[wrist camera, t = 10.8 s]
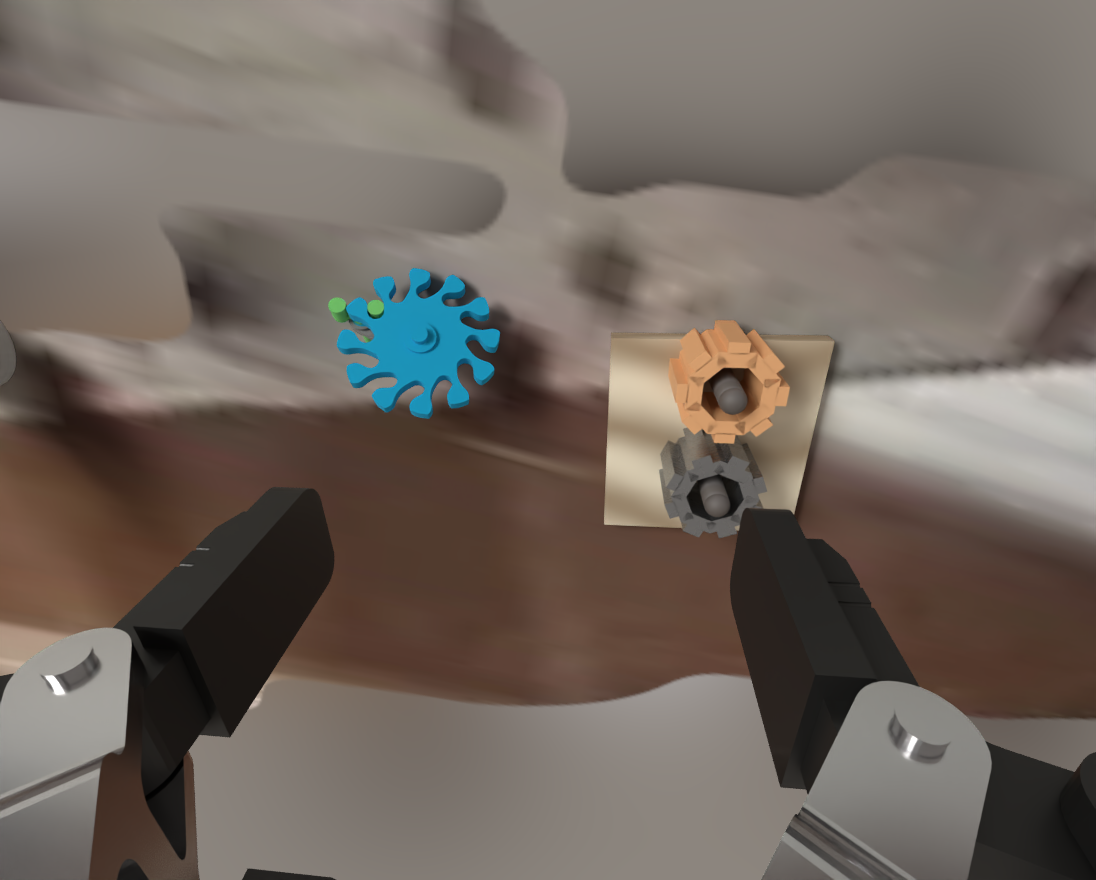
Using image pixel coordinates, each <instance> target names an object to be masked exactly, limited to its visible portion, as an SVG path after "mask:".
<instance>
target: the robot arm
mask: <svg viewBox="0 0 1096 880" xmlns="http://www.w3.org/2000/svg"><path fill="white" fill-rule="evenodd" d="M333 568H334V551H333V547H332V543H331V539H330V535H329V531H328V527H327V523H326V519H325V515H324V511H323V507H322V503H321V499H320V496H319V494H318V493H317V491H316V490H314V489H309V488H285V487H273V488H271V489H269V490H268V491H267V492H266V493H265V494H264V495H263V496H262V497H261V498H260V499H259V500H258V501H257V502H256V503H255V504H254V505H253V506H252V507H251V508H250V509H249V510H248V511H247V512H242V513H240V514H239V515H237V516H235V517H233V518H232V519H230V520H228V521H227V522H225V523H223V524H221V525H220V526H218V527H216V528H215V529H214V530H213V531H212V532H211V533H210V534H209V535H208V536H207V537H206V538H205V539H204V540H203V541H202V542H201V543H200V544H199V545H198V546H197V549H196V551H192V552H191V553H189V554H188V555H187V556H186V557H185V558H184V559H183V560H182V561H181V562H180V566H179V567H175V568H174V569H173V570H172V571H171V572H170V573H169V574H168V575H167V576H166V577H165V578H164V579H163V580H162V581H161V582H160V583H159V584H157V585H156V586H155V587H154V588H153V589H152V590H151V591H150V592H149V593H148V594H147V595H146V596H145V597H144V598H143V599H142V600H141V601H140V602H139V603H138V604H137V605H136V606H135V607H134V608H133V609H132V610H131V611H130V612H129V613H128V614H127V615H125V616H124V617H123V618H122V619H121V620H120V621H119V622H118V623H117V624H116V625H115V626H114V627H113V628H98V629H92V630H87V631H84V632H80V633H77V634H74V635H72V636H69V637H66V638H64V639H62V640H60V641H58V642H56V643H54V644H52V645H50V646H48V647H47V648H45V649H43V650H42V651H40V652H39V653H37V654H36V655H34V656H33V657H32V658H30V659H29V660H28V661H27V662H26V663H24V664H23V665H22V666H21V667H20V668H19V669H18V670H17V671H16V672H15V673H14V674H9V675H3V676H0V880H200V878H199V871H198V855H197V833H196V813H195V790H194V769H193V760H192V757H191V755H190V753H189V751H188V750H189V749H190V747H191V746H192V745H193V743H194V742H195V740H196V739H197V737H198V736H199V735H209V736H220V737H221V736H222V737H231V735H232V733H233V732H234V730H235V729H236V727H237V726H238V724H239V723H240V721H241V719H242V718H243V716H244V715H245V713H246V712H247V710H248V709H249V707H250V705H251V704H252V702H253V701H254V699H255V698H256V696H257V695H258V693H259V691H260V690H261V688H262V687H263V685H264V684H265V682H266V681H267V679H268V677H269V676H270V674H271V673H272V671H273V670H274V668H275V667H276V665H277V663H278V662H279V660H280V659H281V657H282V656H283V654H284V652H285V651H286V649H287V648H288V646H289V645H290V643H291V642H292V640H293V638H294V637H295V635H296V634H297V632H298V631H299V629H300V628H301V626H302V624H303V623H304V621H305V620H306V618H307V617H308V615H309V613H310V612H311V610H312V609H313V607H314V606H315V604H316V603H317V601H318V599H319V598H320V596H321V595H322V593H323V592H324V590H325V589H326V587H327V585H328V584H329V582H330V579H331V576H332V573H333ZM730 595H731V604H732V609H733V613H734V617H735V620H736V624H737V628H738V632H739V635H740V639H741V643H742V646H743V650H744V654H745V658H746V661H747V665H748V669H749V672H750V676H751V680H752V683H753V687H754V690H755V695H756V698H757V702H758V706H759V709H760V713H761V717H762V721H763V724H764V728H765V732H766V735H767V739H768V743H769V746H770V750H771V754H772V757H773V761H774V765H775V769H776V772H777V776H778V780H779V783H780V787H783V788H796V789H806V790H807V794H808V796H807V798H806V800H805V802H804V805H803V806H802V808H801V810H800V812H799V814H798V815H797V814H795V816H794V817H793V819H792V820H791V822H790V824H789V825H788V827H787V829H786V831H785V833H784V835H783V837H782V839H781V841H780V843H779V845H778V847H777V849H776V851H775V853H774V855H773V857H772V859H771V861H770V863H769V865H768V867H767V869H766V871H765V873H764V875H763V877H762V879H761V880H1096V752H1095V753H1092V754H1090V755H1088V756H1087V757H1086V758H1085V759H1084V760H1083V762H1082V763H1081V764H1080V766H1079V767H1078V768H1077V770H1076V771H1075V772H1073V771H1069V770H1067V769H1063V768H1061V767H1058V766H1055V765H1051V764H1048V763H1045V762H1042V761H1039V760H1036V759H1033V758H1030V757H1027V756H1024V755H1021V754H1018V753H1015V752H1012V751H1009V750H1006V749H1004V748H1001V747H998V746H995V745H993V744H990V743H988V742H986V741H985V740H984V739H983V737H982V735H981V734H980V732H979V731H978V729H977V728H976V727H975V726H974V724H973V723H972V722H971V721H970V720H969V719H968V718H967V717H966V716H965V715H964V714H963V713H962V712H960V711H959V710H958V709H957V708H956V707H954V706H953V705H952V704H950V703H949V702H947V701H946V700H944V699H943V698H941V697H939V696H937V695H936V694H934V693H932V692H930V691H927V690H925V689H923V688H920V686H919V685H918V683H917V681H916V680H915V678H914V676H913V674H912V673H911V671H910V669H909V668H908V666H907V664H906V662H905V661H904V659H903V657H902V655H901V654H900V652H899V650H898V649H897V647H896V645H895V643H894V642H893V640H892V638H891V636H890V635H889V633H888V631H887V629H886V628H885V626H884V624H883V623H882V621H881V619H880V617H879V616H878V614H877V612H876V610H875V609H874V608H871V602H870V600H869V598H868V597H867V595H866V593H865V591H864V590H863V588H860V583H859V581H858V579H857V578H856V576H855V574H854V572H853V571H852V569H851V567H850V565H849V564H848V562H847V560H846V559H845V558H843V557H842V556H841V555H840V554H839V553H838V552H836V551H835V550H834V549H833V548H832V547H831V546H829V545H828V544H827V543H826V542H825V541H823V540H822V539H806V538H805V536H804V534H803V532H802V530H801V528H800V526H799V524H798V522H797V520H796V518H795V516H794V514H793V513H792V511H791V510H788V509H764V508H745V509H744V511H743V513H742V517H741V521H740V527H739V532H738V538H737V543H736V549H735V555H734V560H733V566H732V571H731V579H730ZM242 880H335V879H333V878H331V877H321V876H312V875H303V874H294V873H285V872H275V871H266V870H257V869H247V871H246V873H245V875H244V877H243V879H242Z"/></svg>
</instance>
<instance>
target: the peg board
mask: <svg viewBox="0 0 1096 880" xmlns="http://www.w3.org/2000/svg"><path fill="white" fill-rule="evenodd" d="M685 335H687V334H669V333H611V357H610V383H609V408H608V433H607V458H606V484H605V509H604V524H606V525H628V526H650V527H672V528H682V524H681V521H680V519H679V516H678V517H675V518H671V519H670V518H669V515H668V513H667V510H666V508H665V505H664V500H663V493H662V487H661V481H660V474H659V470H660V469H663V467H662V462H661V456H660V453H661V452H662V450H663V448H664V446H665V445H666V443H667V441H671V442H673V443H676V442H677V440H678V439H679V438H681V437H684V436H685V435H684V431H683V429H684V428H687V427H686V426H685V425H684V424H683V423H682V421H681V417H680V413H679V410H678V406H677V403H675V400H674V396H673V392H672V388H671V384H670V381H669V377H668V372H669V362H670V358H675V359H679V355H680V351H681V350H682V349H683V348H682V345H681V343H680V340H681V339H682V338H683V337H684V336H685ZM760 337H761V338H762V339H763V340H764V341H765V342H766V344H767V345H768V346H769V347H770V349H771V350H772V351H773V352H774V354H775V355H776V356H777V357H778V359H779V360H780V361H781V362H782V363H783V365H784V366H785V367H784V368H783V369H782V370H780V371H779V373H780V375H781V376H782V377H783V379H784V380H785V381H786V383H787V384H788V385H789V387H790V390H789V395H788V399H787V404H786V406H775V411H774V414H772V415H771V416H770V417H769V419H770V420H771V422H772V424H773V426H771V427H770V428H768V429H767V430H765V431H764V432H763V433H761V434H760V435H758V436H757V437H756V436H755V435H754V434H753V433H752V432H751V431H749V432H747V433H746V434H745V435H737V436H738V438H739V440H740V442H741V444H745V443H747V444H748V446H749V448H750V450H751V452H752V454H753V457H754V459H755V461H756V463H757V465H758V467H759V469H760V471H761V474H762V476H763V479H764V482H765V485H766V489H767V492H764V493H761V494H758V496H759V499H760V501H761V503H762V506H763V508H764V509H788V510H791V511H792V513H793V514H794V512H795V508H796V504H797V500H798V495H799V491H800V487H801V483H802V478H803V474H804V470H805V466H806V461H807V457H808V453H809V449H810V444H811V440H812V436H813V432H814V427H815V423H816V419H817V414H818V410H819V406H820V402H821V397H822V393H823V389H824V385H825V380H826V376H827V372H828V368H829V363H830V359H831V355H832V351H833V346H834V342H835V341H834V340H833V339H831V338H830V337H829V336H817V335H760ZM744 370H745V368H722V369H721V370H720V371H719V372H717V373H716V374H715V375H713V376H712V377H711V378H710V379H708V380H707V381H706V382H705V383H704V385H703V391H704V392H713V393H714V395H715V397H716V400H717V402H718V404H719V407H720V408H721V410H722V411H723V412H725V413H727V414H730V415H735V414H739V413H741V412H742V411H743V410H744V409H745V408H746V406H747V402H748V400H747V395H746V393H745V392H744V390H743V388H742V386H741V385H740V383H739V382H740V381H741V380H742V379H743V376H744ZM702 431H703V429H702ZM696 483H698V486H699V489H700V493H701V497H702V501H703V504H704V508H705V510H706V512H707V513H708V514H709V515H711V516H713V517H721V516H724V515H725V514H726V513H727V512H728V511H729V508H730V501H729V498H728V495H727V492H726V490H725V487H724V484H723V481H722V475H720V474H717V475H714V476H710V477H707V478H704V479H700V480H697V481H696ZM739 527H740V525H739V526H735V529H736V530H738V531H739Z"/></svg>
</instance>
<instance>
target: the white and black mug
mask: <svg viewBox="0 0 1096 880" xmlns="http://www.w3.org/2000/svg"><path fill="white" fill-rule="evenodd" d="M15 368H16V352H15V348H14V345H13V342H12V339H11V337H10V335H9V333H8V331H7V329H6V328H5V326H4V325H3V323H2V322H1V320H0V385H3V384H4V383H6V382H7V381H9V379H10V378H11V377H12V375H13V373H14V371H15Z"/></svg>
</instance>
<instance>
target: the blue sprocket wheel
mask: <svg viewBox="0 0 1096 880" xmlns="http://www.w3.org/2000/svg"><path fill="white" fill-rule="evenodd" d="M409 277H410V281H411V285H410V290H409V292H408V294H407V296H406V297H405V299H404V300H403V301H402V302H400V303H394V302H392V301H391V299H392V298H393V296H394V295H395V293H396V287H395V283H394V280H393V278H392V277H388V276H387V277H381V278H378V279H375V280H374V281H373V285H374V288H375V291H376V294H377V295H378V296H379V297H380V298H381V299H382V301H383V302H384V305H383V303H382V302H381V301H379V300H373V301H371V302H369V304H368V305H367V303H366V301H365V300H364V299H362V298H360V297H359V298H356V299H355V300H353V301H352V302H351V303H350V304H349V305H348V306H347V305H346V303H345V301H344V300H343V299H341V298H333V299H332V300H330V302H329V305H328V306H329V309H330V311H331V313H332V315H333V317H334V319H335V320H336V321H338V322H346V321H348V320H349V323H350V325H351V327H352V329H353V330H354V331H355V332H357V333H359V334H361V335H363V337H364V339H365V341H366V342H367V343H363V342H361V341H359V339H358V338H357V336H356V335H355V333H354V332H352V331H350V330H342V332H341V333H340V335H339V337H338V341H337V347H338V349H339V350H340V352H341V353H343V354H354V353H363V354H367V355H370V356H372V357H374V358H376V359H378V360H379V363H378V365H377V366H375V367H373V368H367V367H365V366H363V365H361V364H358V363H352V364H350V365H348V366H347V375H348V378H349V380H350V383H351V384H352V386H353V387H354V388H361V387H363V386H365V385H366V384H367V383H368V382H370V381H372V380H374V379H377V378H381V377H394V378H396V379H397V380H398V381H397V384H396V385H395V386H393V387H391V388H379V389H377V390H375V391H374V393H373V394H372V397H373V399H374V401H375V403H376V404H377V405H378V407H380V408H381V409H382V410H383V411H385V412H389V411H391V410H392V409H393V408H394V407H395V404H396V401H397V400H398V398H399V397H400V395H401V394H402V393H403V392H405V391H406V390H408V389H409V388H411V387H413V386H415V385H420V386H422V387H424V388H425V390H424V392H423V393H422V394H421V395H420V396H418V397H416V398H414V399H413V400H412V401H411V403H410V411H411V413H412V414H413V415H414V416H417V417H421V418H428V419H429V418H430V417H431V416H432V413H433V408H432V404H431V399H432V394H433V391H434V389H435V388H436V386H437V384H438V383H439V382H440V381H442V380H448V381H450V382H451V383H452V387H451V388H450V390H449V392H448V395H447V398H448V404H449V406H450V407H451V408H459V407H463V406H465V405H468V404H469V394H468V392H467V390H466V389H465V388H464V387H463V386H462V385H461V383H460V381H459V379H458V376H457V369H458V367H459V366H460V365H461V364H464V363H466V364H469V365H471V366H472V367H473V372H474V379H475V381H476V382H477V383H478V384H480V385H483V384H485V383H487V382H488V381H489V380H490V379H491V378H492V376H493V375H494V367H493V365H492V364H491V363H489V362H486V361H483V360H480V359H478V358H477V357H475V356H474V355H473V354H472V353H471V351H470V350H469V349H468V347H467V346H466V344H467V343H468V342H469V341H471V340H475V341H478V342H479V343H480V344H481V345H482V347H483V348H484V350H486V351H487V352H490V353H495V352H496V350H497V348H498V345H499V338H500V332H499V331H498V330H496V329H487V330H477V329H473V328H471V327H468V326H466V325H464V324H463V323H462V322H461V320H462V319H463V318H464V317H471V318H473V319H475V320H477V321H486V320H488V319H489V306H488V304H487V301H486V299H485V298H483V297H479V298H476V299H474V300H473V301H472V302H471V303H469V304H467V305H464V306H459V307H448V306H445V305H444V304H443V302H444V301H445V300H447V299H459V298H461V297H462V296H464V294H465V285H464V283H463V282H462V281H461V280H460V279H459V278H457V277H456V276H455V275H450V276H448V277H447V278H446V280H445V283H444V285H443V287H442V288H441V290H440V291H438V292H437V293H436V294H434V295H433V296H431V297H429V298H426V299H422V298H420V297H418V294H419V293H420V292H422V291H424V290H426V289H428V288H429V286H430V284H431V279H430V273H429V272H427V271H425V270H422V269H417V268H413V269H411V271H410V273H409Z"/></svg>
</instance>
